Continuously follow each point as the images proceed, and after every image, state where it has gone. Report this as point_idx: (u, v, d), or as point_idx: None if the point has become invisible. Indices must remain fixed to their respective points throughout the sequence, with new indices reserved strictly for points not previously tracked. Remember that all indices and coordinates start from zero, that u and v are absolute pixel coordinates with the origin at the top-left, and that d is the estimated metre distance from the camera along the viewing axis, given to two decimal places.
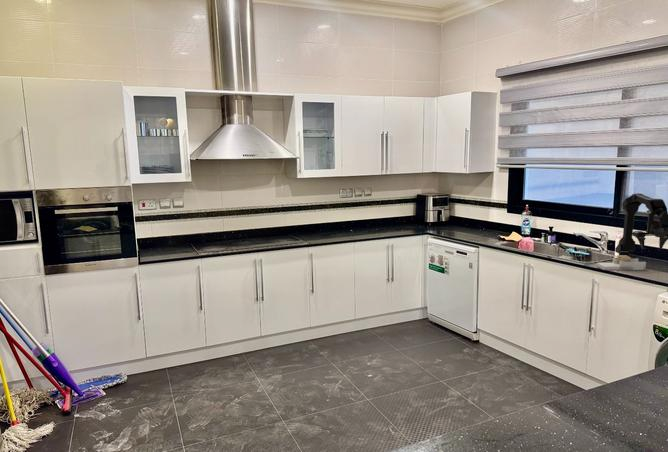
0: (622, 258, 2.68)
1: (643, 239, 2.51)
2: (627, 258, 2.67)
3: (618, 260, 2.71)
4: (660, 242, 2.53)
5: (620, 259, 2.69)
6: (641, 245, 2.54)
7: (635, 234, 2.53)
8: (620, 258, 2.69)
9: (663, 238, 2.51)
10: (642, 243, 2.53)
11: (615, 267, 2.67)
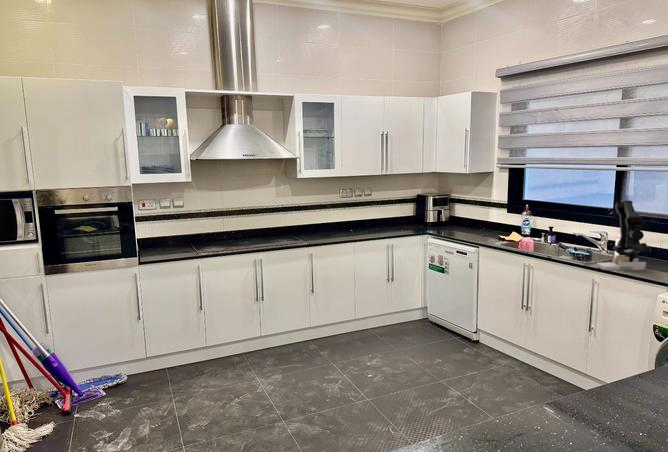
0: (621, 258, 2.68)
1: (630, 253, 2.67)
2: (626, 258, 2.67)
3: (617, 260, 2.71)
4: None
5: (619, 259, 2.69)
6: (629, 259, 2.70)
7: (615, 249, 2.69)
8: (619, 258, 2.69)
9: (633, 252, 2.68)
10: (629, 257, 2.68)
11: (615, 267, 2.67)
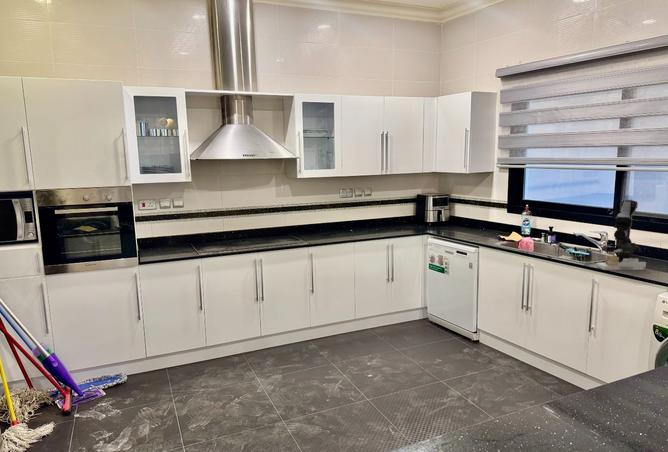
0: (610, 258, 2.68)
1: (620, 253, 2.68)
2: (615, 258, 2.68)
3: (606, 260, 2.72)
4: None
5: (608, 259, 2.70)
6: None
7: (604, 249, 2.70)
8: (608, 258, 2.70)
9: (622, 252, 2.69)
10: (619, 257, 2.69)
11: (615, 267, 2.67)
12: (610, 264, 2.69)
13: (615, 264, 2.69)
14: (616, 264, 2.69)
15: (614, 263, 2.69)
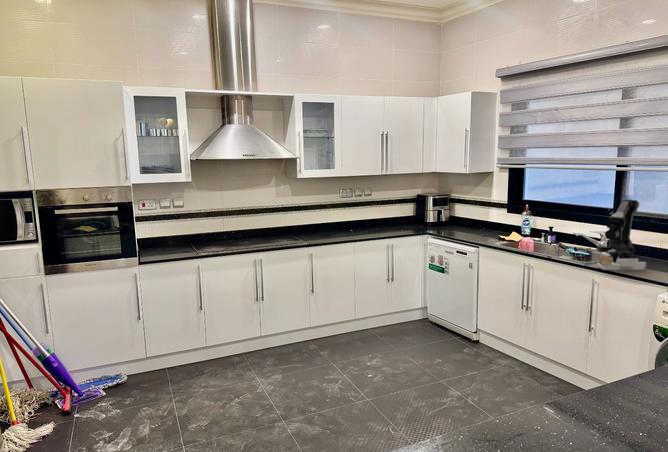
0: (604, 258, 2.69)
1: (614, 253, 2.68)
2: (609, 258, 2.69)
3: (600, 260, 2.73)
4: None
5: (602, 259, 2.70)
6: None
7: (598, 249, 2.70)
8: (602, 258, 2.70)
9: (616, 252, 2.69)
10: (613, 257, 2.69)
11: (615, 267, 2.67)
12: (604, 264, 2.69)
13: (609, 264, 2.69)
14: (610, 263, 2.69)
15: (608, 263, 2.69)
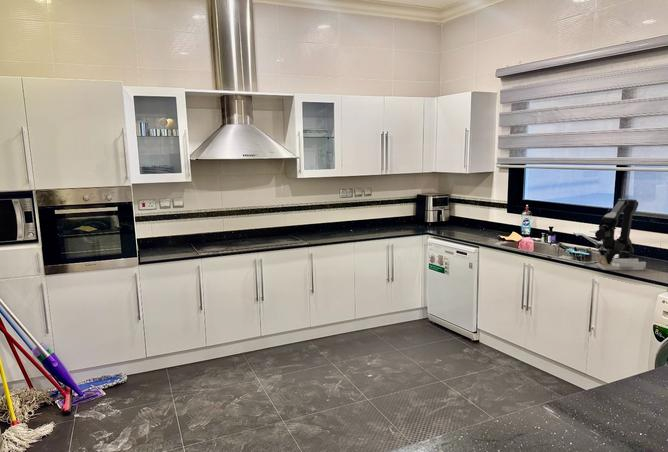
0: (604, 258, 2.69)
1: None
2: None
3: (600, 260, 2.73)
4: (603, 255, 2.74)
5: (602, 259, 2.70)
6: (609, 260, 2.68)
7: (616, 252, 2.61)
8: (602, 258, 2.70)
9: (606, 251, 2.74)
10: None
11: (615, 267, 2.67)
12: (604, 264, 2.69)
13: (609, 264, 2.69)
14: (610, 263, 2.69)
15: None
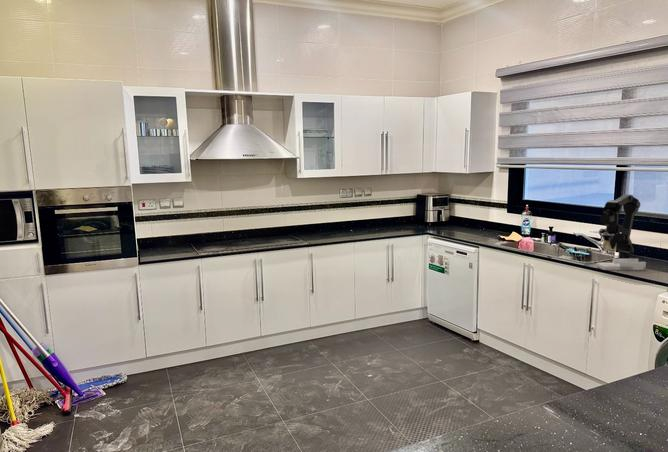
0: (608, 243, 2.68)
1: None
2: None
3: (604, 245, 2.72)
4: None
5: (606, 244, 2.69)
6: (613, 245, 2.67)
7: (620, 236, 2.60)
8: (606, 243, 2.69)
9: (610, 236, 2.73)
10: (616, 243, 2.66)
11: (615, 267, 2.67)
12: (608, 249, 2.69)
13: (613, 249, 2.68)
14: (614, 248, 2.68)
15: None
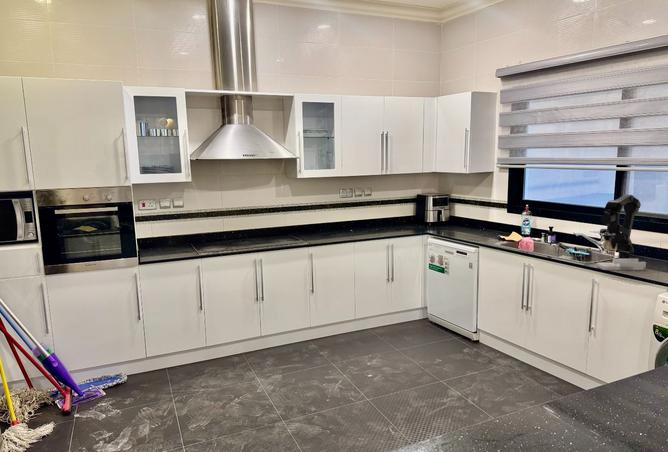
0: (609, 243, 2.68)
1: None
2: None
3: (605, 245, 2.72)
4: (608, 240, 2.73)
5: (607, 244, 2.69)
6: (614, 245, 2.67)
7: (621, 236, 2.60)
8: (607, 243, 2.69)
9: (611, 236, 2.73)
10: (616, 243, 2.66)
11: (615, 267, 2.67)
12: (608, 249, 2.69)
13: (613, 249, 2.68)
14: (615, 248, 2.68)
15: None
